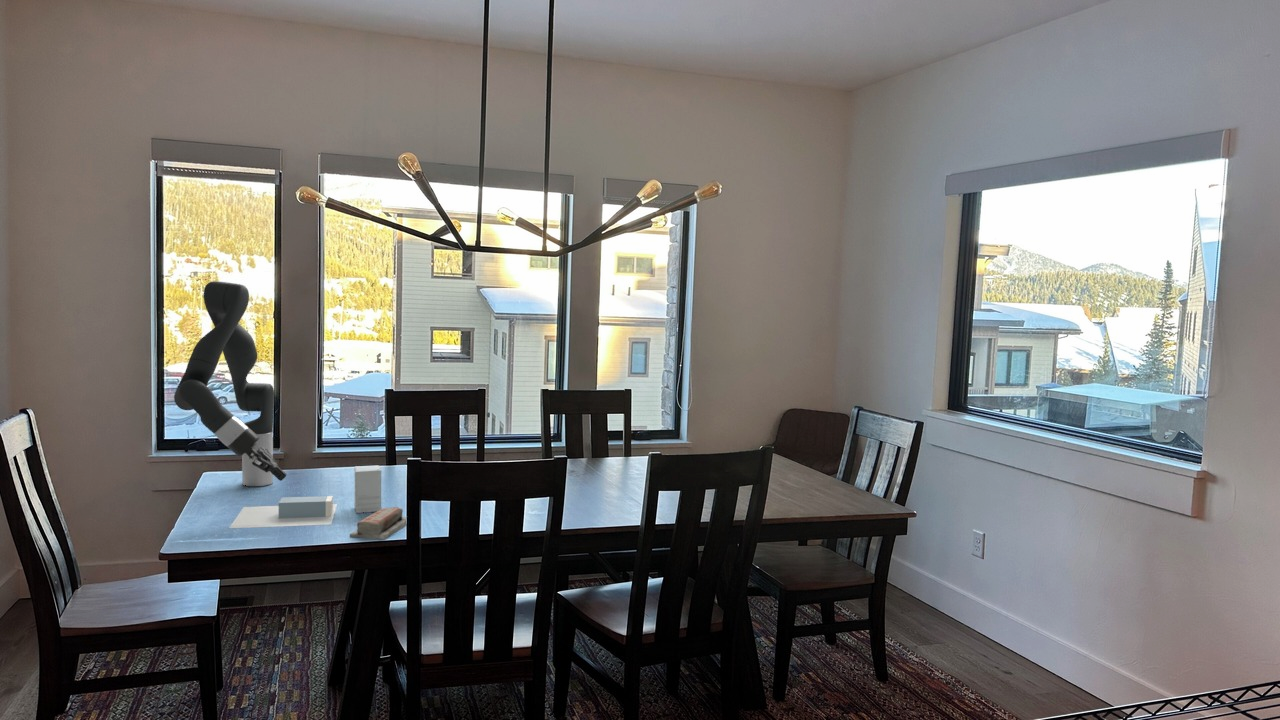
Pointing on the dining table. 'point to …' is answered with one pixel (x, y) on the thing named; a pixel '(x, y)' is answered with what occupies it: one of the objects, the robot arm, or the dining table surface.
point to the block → (305, 507)
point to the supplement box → (367, 488)
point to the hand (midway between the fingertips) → (284, 477)
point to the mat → (274, 518)
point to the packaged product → (380, 524)
